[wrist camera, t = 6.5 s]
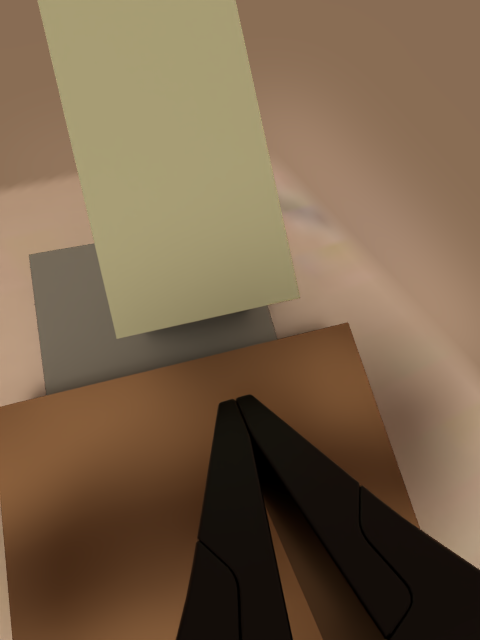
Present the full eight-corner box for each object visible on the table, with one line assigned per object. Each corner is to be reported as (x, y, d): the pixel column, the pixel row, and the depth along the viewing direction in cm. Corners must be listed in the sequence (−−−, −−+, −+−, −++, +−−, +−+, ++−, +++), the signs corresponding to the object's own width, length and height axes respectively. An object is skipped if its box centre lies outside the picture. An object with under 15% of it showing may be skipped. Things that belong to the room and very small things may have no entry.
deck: (417, 607, 14) (461, 648, 12) (65, 756, 12) (30, 846, 9) (326, 335, 17) (348, 322, 14) (27, 409, 14) (-8, 408, 12)
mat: (276, 343, 16) (278, 342, 16) (50, 399, 15) (46, 398, 14) (240, 222, 18) (241, 218, 18) (32, 258, 16) (28, 254, 16)
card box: (300, 297, 9) (230, -27, 9) (116, 338, 9) (33, -18, 8) (249, 308, 16) (208, 124, 16) (144, 331, 15) (99, 137, 15)
